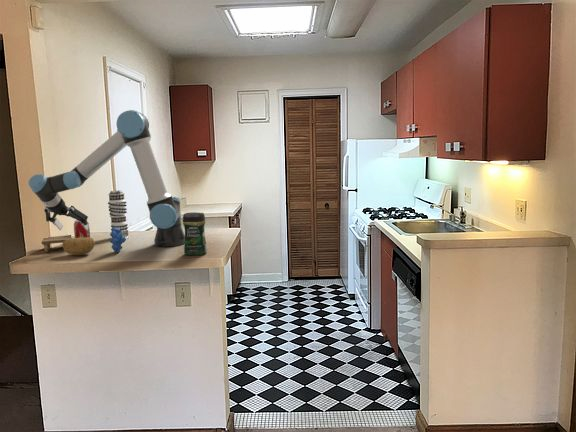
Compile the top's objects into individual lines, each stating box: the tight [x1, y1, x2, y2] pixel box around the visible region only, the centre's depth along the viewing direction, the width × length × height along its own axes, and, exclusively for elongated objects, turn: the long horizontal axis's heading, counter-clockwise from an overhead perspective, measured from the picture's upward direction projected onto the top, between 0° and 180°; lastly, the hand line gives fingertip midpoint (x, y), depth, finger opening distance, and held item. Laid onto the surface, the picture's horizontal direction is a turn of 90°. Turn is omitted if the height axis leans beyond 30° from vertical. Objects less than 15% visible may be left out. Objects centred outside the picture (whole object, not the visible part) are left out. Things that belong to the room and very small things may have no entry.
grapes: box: [109, 227, 127, 254], centre depth 214 cm, size 12×7×12 cm, turn 4°
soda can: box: [73, 219, 91, 238], centre depth 235 cm, size 7×7×12 cm
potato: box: [61, 237, 96, 256], centre depth 211 cm, size 10×14×8 cm
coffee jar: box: [182, 212, 208, 256], centre depth 206 cm, size 10×8×19 cm
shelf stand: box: [41, 234, 72, 253], centre depth 225 cm, size 12×12×5 cm
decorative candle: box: [107, 190, 129, 240], centre depth 246 cm, size 9×9×25 cm
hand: (74, 228), depth 231 cm, fingers open, 13 cm apart
